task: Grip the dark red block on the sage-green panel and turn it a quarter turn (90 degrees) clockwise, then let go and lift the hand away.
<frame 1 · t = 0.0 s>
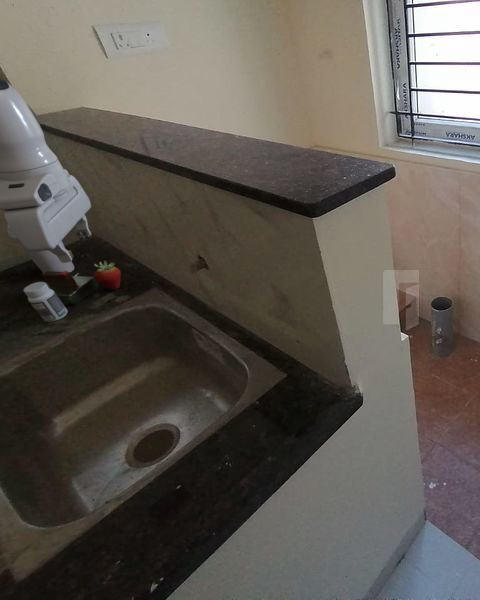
hand: (77, 248, 77), 19 cm above the table, tool pointing down, fingers open, 8 cm apart
dial panel: (70, 294, 97), on the table
fruit: (116, 289, 99), on the table
pill bottle: (56, 316, 90), on the table
dark red block: (59, 278, 94), point 5 cm above the table, hinge at 0.0°
coffee cup: (60, 271, 106), on the table
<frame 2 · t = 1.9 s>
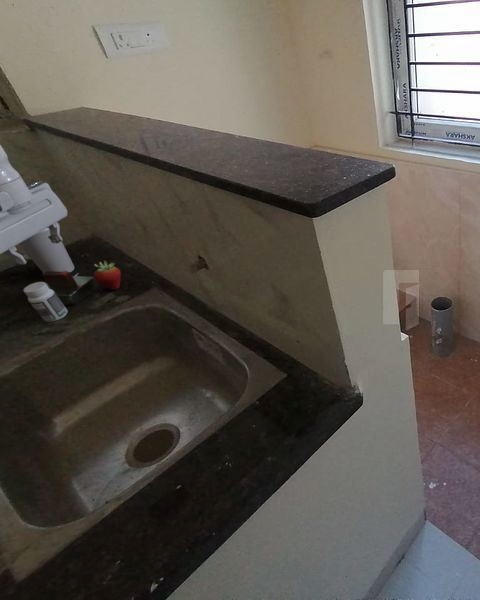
hand: (42, 251, 89), 12 cm above the table, tool pointing down, fingers open, 8 cm apart
nothing on the table moved.
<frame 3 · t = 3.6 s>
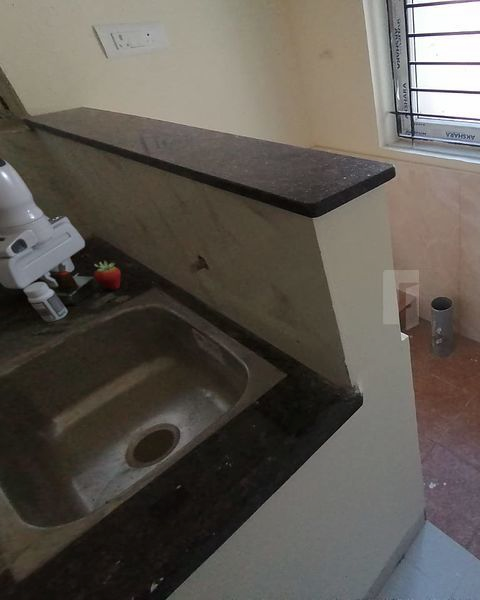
hand: (61, 282, 95), 4 cm above the table, tool pointing down, fingers closed on dark red block, 2 cm apart
dark red block: (59, 278, 94), point 5 cm above the table, hinge at -0.1°, touching gripper
everything else where it was.
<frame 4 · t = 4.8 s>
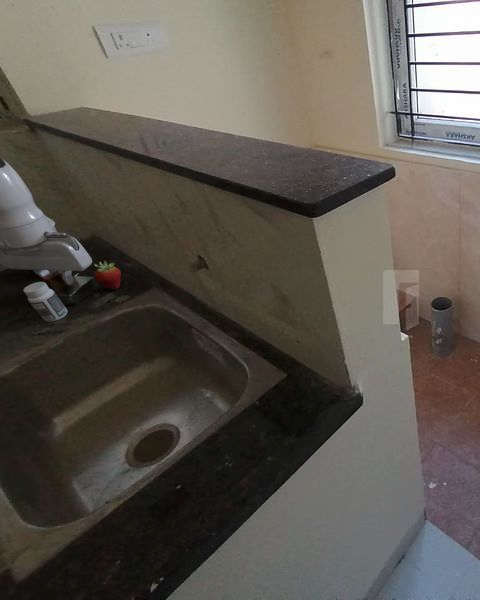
hand: (61, 282, 95), 4 cm above the table, tool pointing down, fingers open, 3 cm apart
dark red block: (59, 278, 94), point 5 cm above the table, hinge at -90.3°
everything else where it was.
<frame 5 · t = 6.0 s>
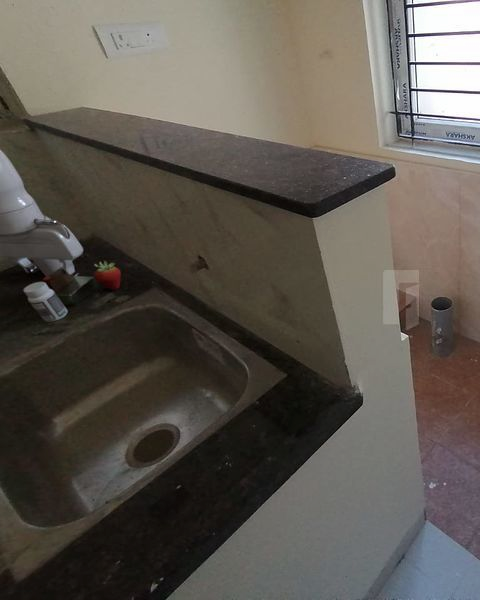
hand: (51, 272, 92), 7 cm above the table, tool pointing down, fingers open, 8 cm apart
nothing on the table moved.
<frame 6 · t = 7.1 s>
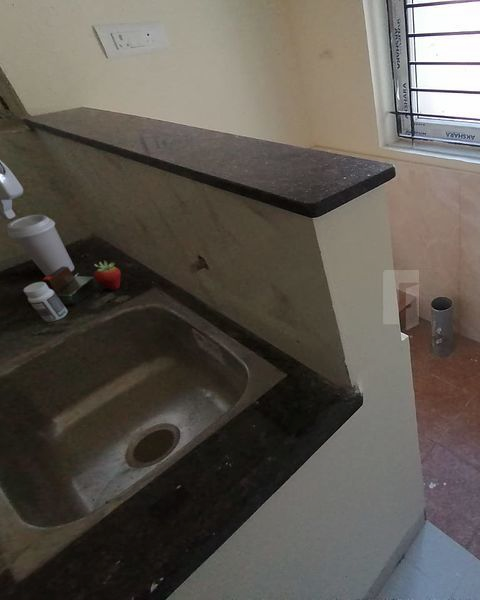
nothing on the table moved.
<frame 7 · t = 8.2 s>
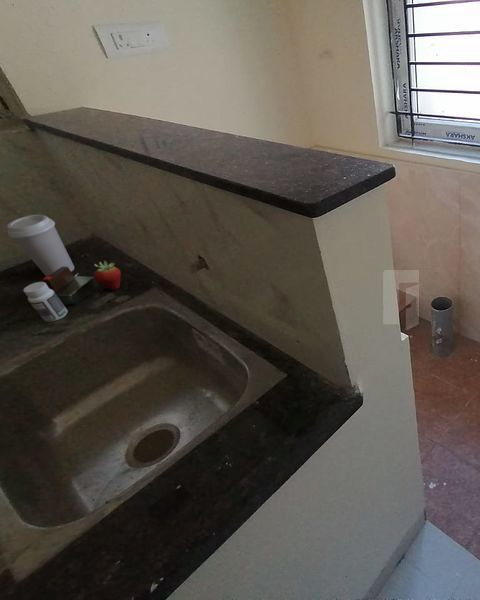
nothing on the table moved.
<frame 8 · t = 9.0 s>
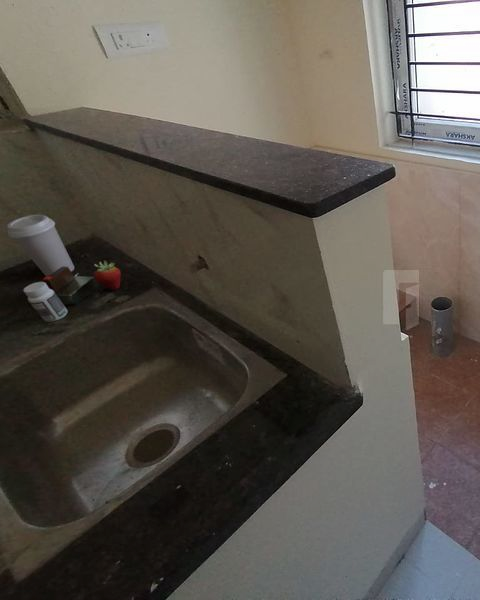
nothing on the table moved.
at the end: dark red block at -90° (first picture: +0°) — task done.
